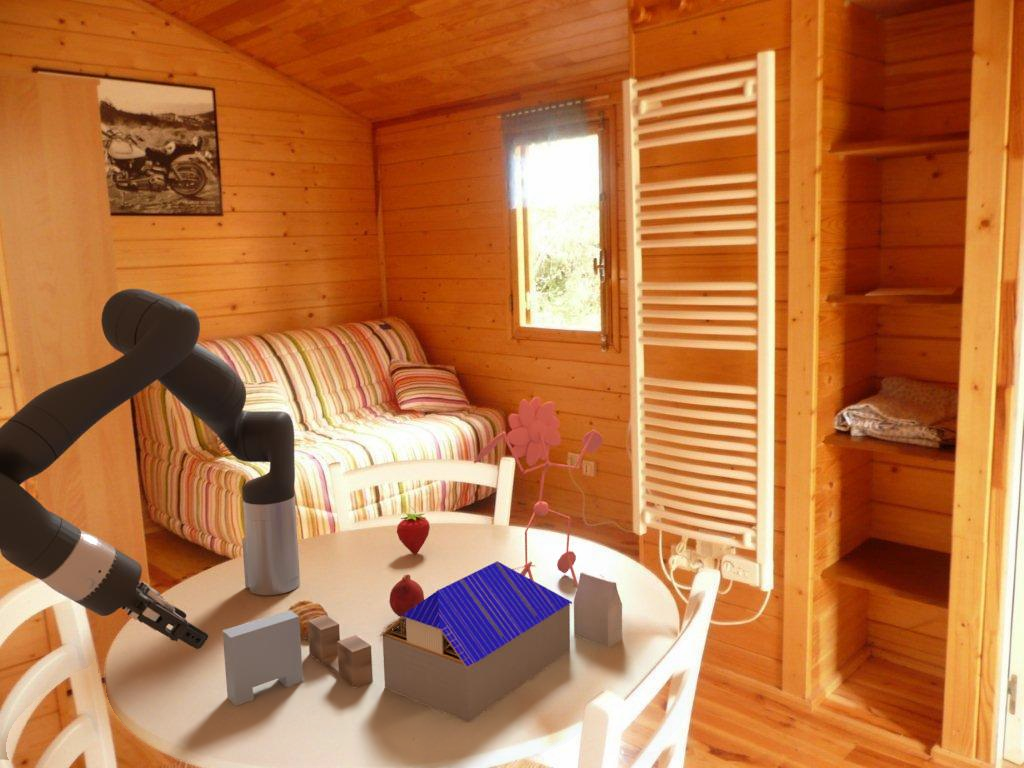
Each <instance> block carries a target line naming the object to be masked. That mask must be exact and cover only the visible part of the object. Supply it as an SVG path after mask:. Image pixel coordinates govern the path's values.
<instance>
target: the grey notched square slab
mask: <svg viewBox="0 0 1024 768" xmlns="http://www.w3.org/2000/svg"><path fill="white" fill-rule="evenodd" d="M301 640H302V639H301V638H300V624H299V616H298V615H296V614H295V613H294V612H292V611H291V610H285V611H283V612H282V611H281V612H278V613H275V614H272V615H269V616H268V615H267V616H265V617H262V618H259V619H255V620H252V621H249V622H246V623H242V624H239V625H236V626H233V627H229V628H226V629H222V643H223V656H224V668H225V681H226V692H227V695H226V696H227V699H228V700H230V702H231V703H232V704H233V705H234V706H235V707H237V706H239V705H242V704H245V703H248V702H250V701H253V700H254V691H253V690H254V688H256V687H259V686H261V685H264V684H266V683H270V682H273V681H275V680H278V681H279V682H280V683H281V684H283V686H285V688H289V687H292V686H294V685H297V684H299V683H303V682H304V676H303V659H302V644H301V643H302V642H301Z"/></svg>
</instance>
